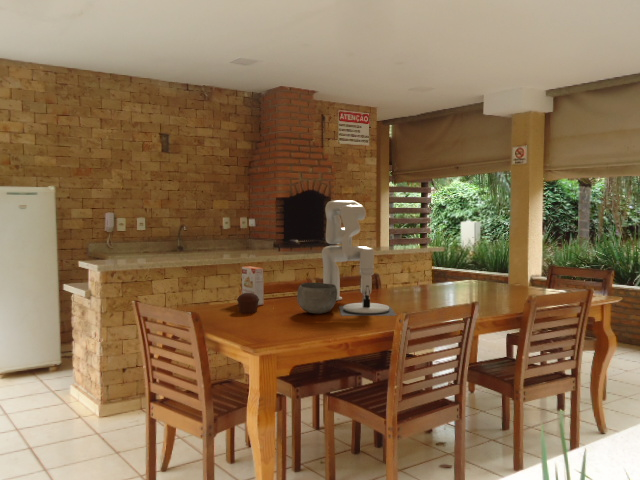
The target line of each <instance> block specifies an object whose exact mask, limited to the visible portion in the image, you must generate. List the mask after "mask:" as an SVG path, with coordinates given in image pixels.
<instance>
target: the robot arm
mask: <svg viewBox="0 0 640 480" xmlns="http://www.w3.org/2000/svg"><path fill="white" fill-rule="evenodd" d="M324 210H325V217H326V228H325V242H326V243H327V244H329V246H325V247H323V248H322V250H321V258H322V267H323V269H322V270H323V271H322V272H323V274H322V275H323V276H322V277H323V280H322V281H323V282H322V283H325V284H334V285H335V286H336V288H337V299H336V302H337V301H342V300H343V297H342V296H340V293H341V292H340V289H341V288H340V286H341V285H340V283H341V282H340V279H341V278H340V276H341V275H340V268H339V265H337V263H345V262H349V261H351V262H356V261H359V275H360V277H361V278H360V293H361V294H362V296H363V297H364V307H370V303H371V293H372V285H373V284H372V282H373V279H372V278H373V277H372V276H373V275H374V274H375V249H374V248H373V247H368V246H365V245H364V246H363V245H362V246H360V245H359V246H357V245H356V246H353V237H354V236H356V235H358V234H359V233H360V232H361V230H362V228H361V225H360V222H359V221H363V220H365V219H366V217H367V211H366V208H365V207H364V206H363V205H362V204H360V203H359V202H357V201H355V200H330V201H328V202H327V203H326V205H325V209H324ZM342 224H343V227H342ZM363 297H362V298H363Z"/></svg>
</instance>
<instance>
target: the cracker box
mask: <svg viewBox="0 0 640 480" xmlns="http://www.w3.org/2000/svg"><path fill="white" fill-rule="evenodd" d="M264 281H265V279H264V268H263V267H257V266H253V265H252V266H250V265H249V266H246V265H245V266H241V289H242V290H241V294H243V293H254V294H255V295H257V296H258V298H259V301H258V307H259V306H264V305H265V293H264V290H265V289H264V288H265V284H264Z"/></svg>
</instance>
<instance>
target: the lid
mask: <svg viewBox="0 0 640 480" xmlns="http://www.w3.org/2000/svg"><path fill="white" fill-rule="evenodd" d="M342 306H343V309H344V310H345V311H348V312H353V313H366V314H371V313H383V312H387V311H389V306H390V305H387V304H382V303H378V302H377V303H376V302H370V307H364V297H362V302H353V303H347V304H344V305H342Z"/></svg>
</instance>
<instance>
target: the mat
mask: <svg viewBox="0 0 640 480" xmlns="http://www.w3.org/2000/svg"><path fill="white" fill-rule="evenodd" d="M343 306H344V305H339V306H338V308H339V312H340V315H341V316H343V317H354V316H355V317H359V316H360V317H364V316H365V317H366V316H368V317H369V316H370V317H372V316H373V317H374V316H375V317H376V316H377V317H381V316H383V317H384V316H385V317H386V316H388V317H389V316H391V317H392V316H395V317H396V316H397V317H398V315H397V312H395V311H394V309H393V308H392V307H391V305H388V306H389V311H387V312H383V313H371V314H366V313H353V312H348V311H345V310H344V309H343Z"/></svg>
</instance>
